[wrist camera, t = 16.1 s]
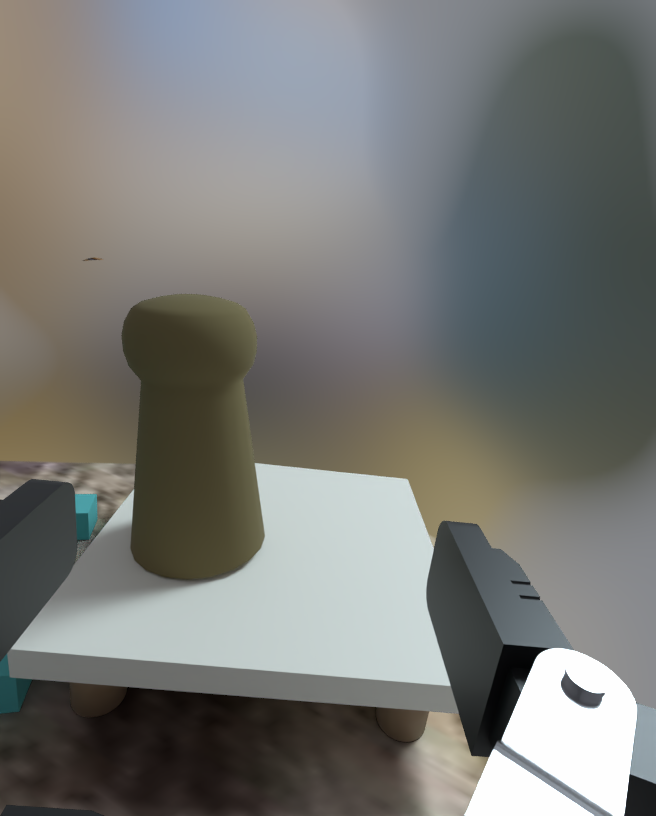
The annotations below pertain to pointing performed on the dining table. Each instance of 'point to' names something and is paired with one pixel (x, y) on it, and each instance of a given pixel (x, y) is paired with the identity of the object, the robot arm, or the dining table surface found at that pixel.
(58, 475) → the dining table surface
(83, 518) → the alien figure
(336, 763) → the dining table surface
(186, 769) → the dining table surface
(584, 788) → the robot arm
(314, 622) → the peg shelf
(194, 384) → the cork
